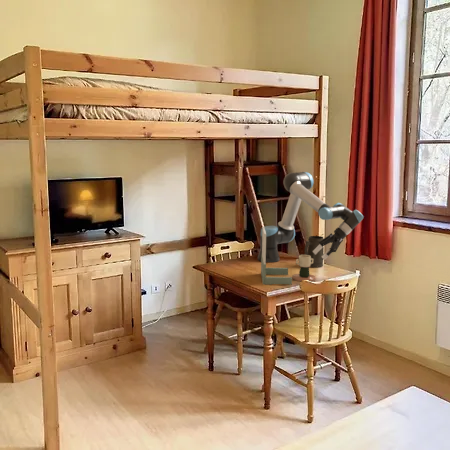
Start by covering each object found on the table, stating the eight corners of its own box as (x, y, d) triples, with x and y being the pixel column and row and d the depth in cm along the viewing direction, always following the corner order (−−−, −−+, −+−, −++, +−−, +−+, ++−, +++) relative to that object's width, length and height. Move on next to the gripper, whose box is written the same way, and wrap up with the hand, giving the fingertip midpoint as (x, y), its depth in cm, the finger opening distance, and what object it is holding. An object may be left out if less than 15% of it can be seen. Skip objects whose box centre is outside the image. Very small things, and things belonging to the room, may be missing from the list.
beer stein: (313, 262, 361) (313, 234, 356) (327, 265, 353) (327, 236, 349) (300, 268, 350) (300, 238, 346) (313, 271, 342) (313, 241, 338)
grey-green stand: (287, 274, 330) (289, 227, 325) (291, 284, 307) (293, 234, 302) (261, 273, 331) (262, 226, 326) (262, 284, 307) (263, 233, 302)
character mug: (310, 274, 324) (311, 254, 322) (314, 277, 317) (315, 256, 315) (293, 275, 322) (294, 254, 320) (297, 278, 315) (298, 257, 313)
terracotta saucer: (287, 277, 322) (287, 275, 322) (304, 274, 330) (304, 272, 330) (303, 282, 311) (303, 280, 310) (320, 279, 318) (320, 277, 318)
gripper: (355, 239, 313) (330, 265, 312) (337, 231, 336) (314, 254, 336) (348, 231, 310) (322, 256, 310) (330, 223, 334) (306, 247, 333)
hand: (318, 255), depth 323 cm, fingers open, 13 cm apart
